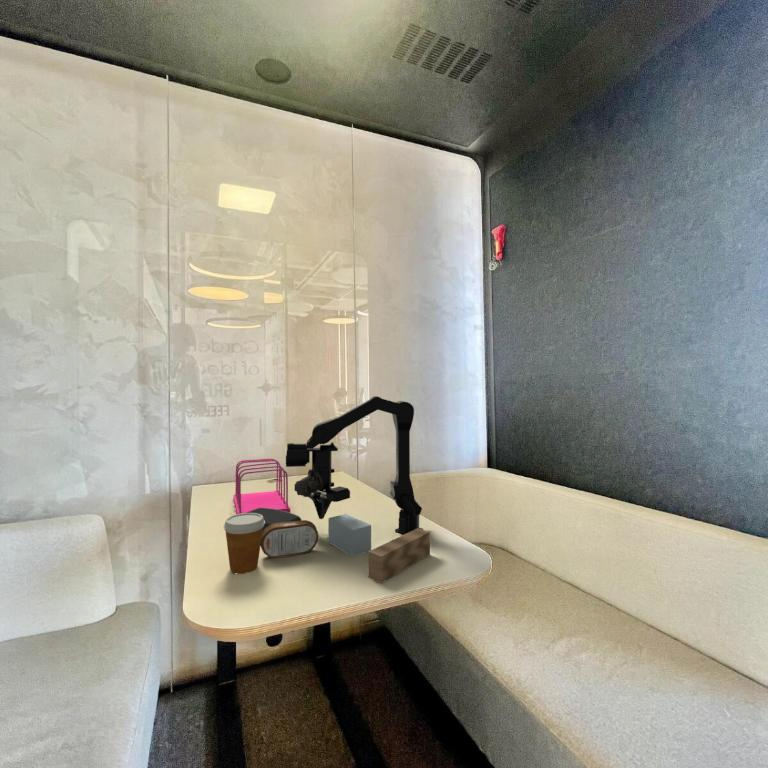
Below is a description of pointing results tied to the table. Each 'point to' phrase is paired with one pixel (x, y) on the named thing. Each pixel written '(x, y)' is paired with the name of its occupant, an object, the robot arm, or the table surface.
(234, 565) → the disposable coffee cup
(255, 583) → the table surface
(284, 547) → the tin
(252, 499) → the file sorter
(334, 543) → the block
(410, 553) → the batten
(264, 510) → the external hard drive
